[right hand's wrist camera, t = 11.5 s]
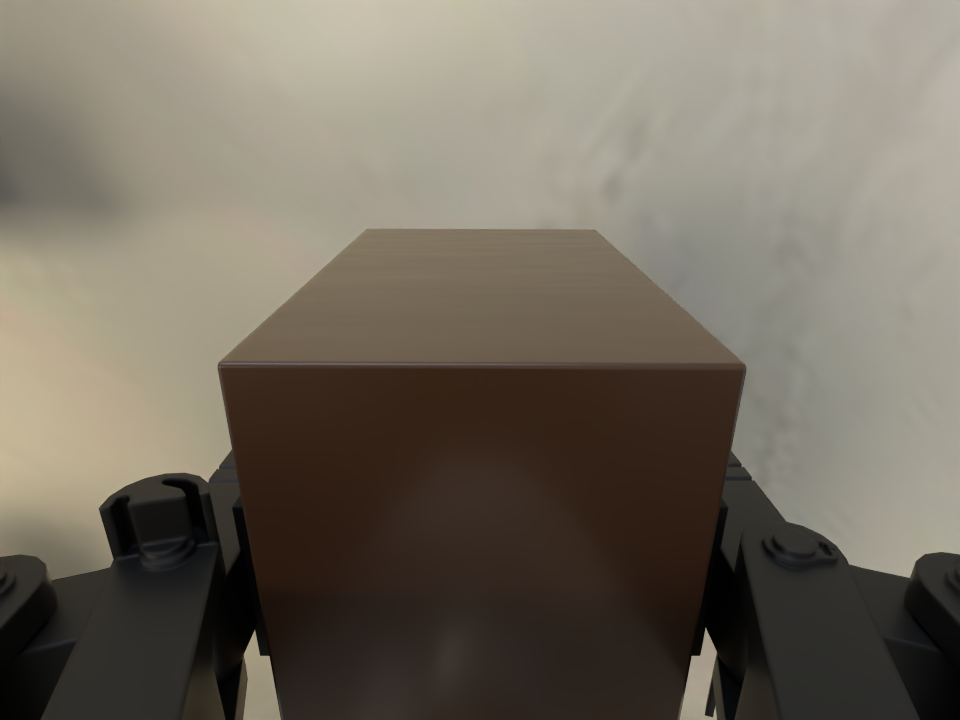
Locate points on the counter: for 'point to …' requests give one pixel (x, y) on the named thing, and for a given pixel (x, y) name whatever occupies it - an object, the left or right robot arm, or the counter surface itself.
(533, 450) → the plank
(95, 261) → the counter surface
